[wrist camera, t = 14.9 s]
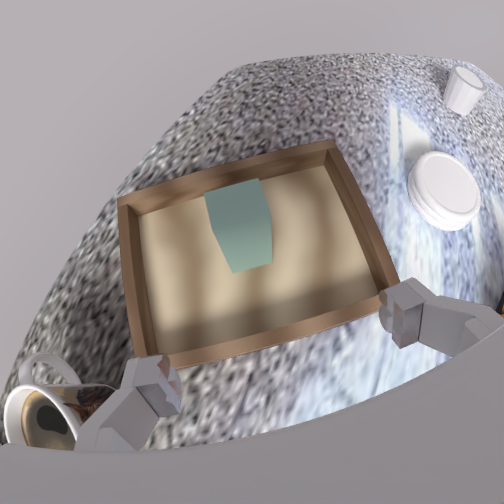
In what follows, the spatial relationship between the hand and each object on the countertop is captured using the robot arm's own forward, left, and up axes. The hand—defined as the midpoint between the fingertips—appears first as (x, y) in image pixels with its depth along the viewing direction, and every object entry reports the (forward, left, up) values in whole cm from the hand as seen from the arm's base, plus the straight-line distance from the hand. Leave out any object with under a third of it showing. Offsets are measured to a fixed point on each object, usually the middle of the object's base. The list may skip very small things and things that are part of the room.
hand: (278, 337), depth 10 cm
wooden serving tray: (0, +10, -18) cm, 20 cm away
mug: (-20, -3, -18) cm, 27 cm away
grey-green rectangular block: (0, +10, -17) cm, 19 cm away
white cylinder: (+42, +27, -18) cm, 53 cm away
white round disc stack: (+25, +11, -18) cm, 33 cm away
